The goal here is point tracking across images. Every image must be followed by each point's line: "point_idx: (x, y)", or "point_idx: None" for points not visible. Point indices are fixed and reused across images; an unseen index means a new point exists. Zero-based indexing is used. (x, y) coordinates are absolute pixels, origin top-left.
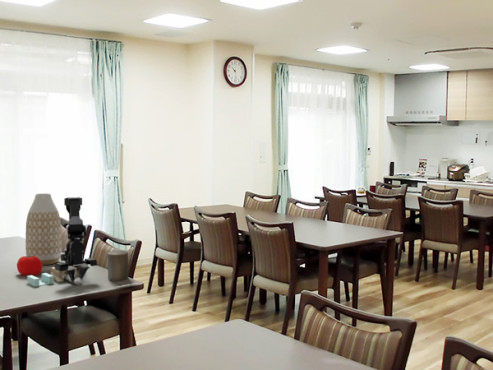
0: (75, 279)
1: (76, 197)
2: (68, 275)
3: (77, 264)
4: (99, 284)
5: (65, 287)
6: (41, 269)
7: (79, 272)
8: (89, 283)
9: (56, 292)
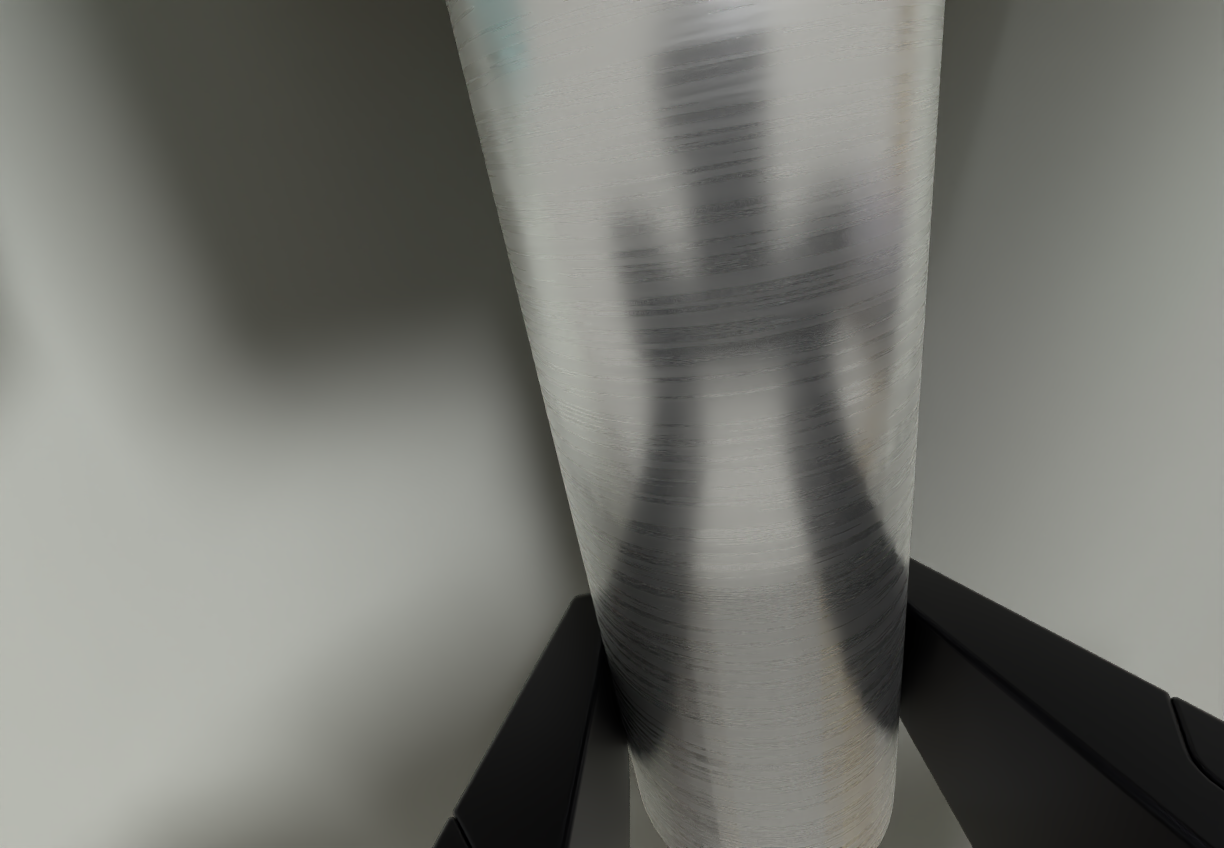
0: (666, 831)
1: None
2: (554, 161)
3: None
4: (1196, 660)
5: (379, 559)
6: None
7: (1167, 843)
8: (1101, 477)
9: (137, 819)
